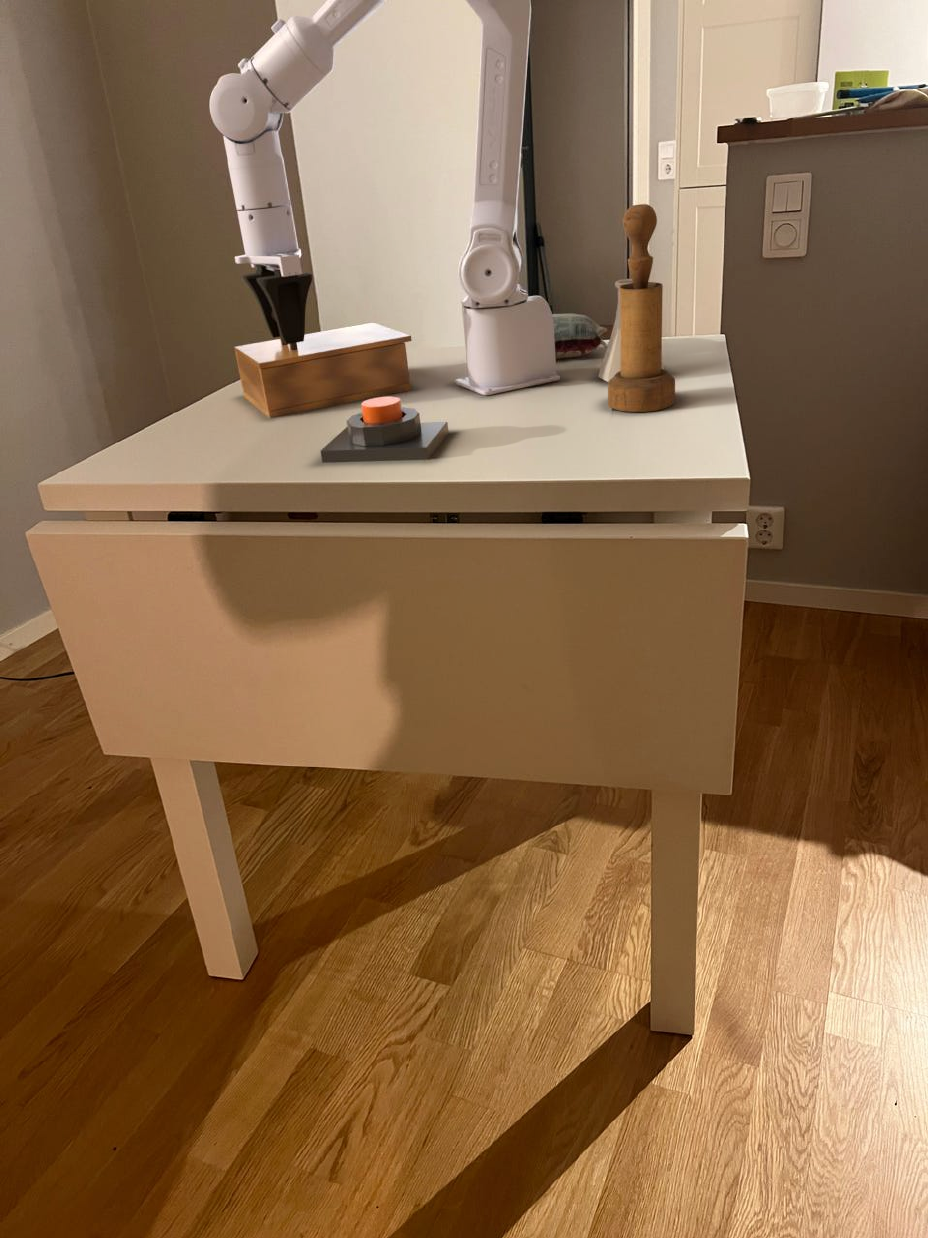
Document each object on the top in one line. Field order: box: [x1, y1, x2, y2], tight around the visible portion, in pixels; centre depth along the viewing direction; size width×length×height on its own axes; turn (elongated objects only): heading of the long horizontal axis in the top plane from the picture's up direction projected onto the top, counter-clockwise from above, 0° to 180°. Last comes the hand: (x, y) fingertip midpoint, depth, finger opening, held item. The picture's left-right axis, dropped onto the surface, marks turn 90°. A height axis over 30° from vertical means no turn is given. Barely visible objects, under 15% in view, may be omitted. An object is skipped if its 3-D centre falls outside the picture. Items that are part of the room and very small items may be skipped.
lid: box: [233, 310, 413, 369], centre depth 104 cm, size 17×13×5 cm
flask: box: [597, 278, 666, 383], centre depth 99 cm, size 7×7×10 cm
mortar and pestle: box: [607, 203, 676, 413], centre depth 87 cm, size 7×6×18 cm
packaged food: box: [552, 313, 608, 360], centre depth 113 cm, size 9×12×5 cm
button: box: [360, 396, 403, 423], centre depth 84 cm, size 4×4×2 cm
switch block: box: [319, 406, 450, 464], centre depth 85 cm, size 10×8×3 cm
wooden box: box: [235, 342, 412, 419], centre depth 107 cm, size 17×13×5 cm
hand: (287, 339), depth 104 cm, fingers closed on lid, 5 cm apart
